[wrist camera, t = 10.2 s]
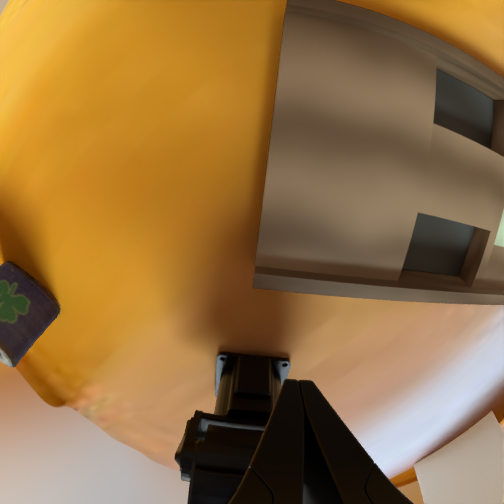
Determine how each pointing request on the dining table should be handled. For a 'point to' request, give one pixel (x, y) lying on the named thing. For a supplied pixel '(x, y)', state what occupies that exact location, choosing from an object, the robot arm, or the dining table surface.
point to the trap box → (381, 163)
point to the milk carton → (466, 467)
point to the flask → (22, 312)
